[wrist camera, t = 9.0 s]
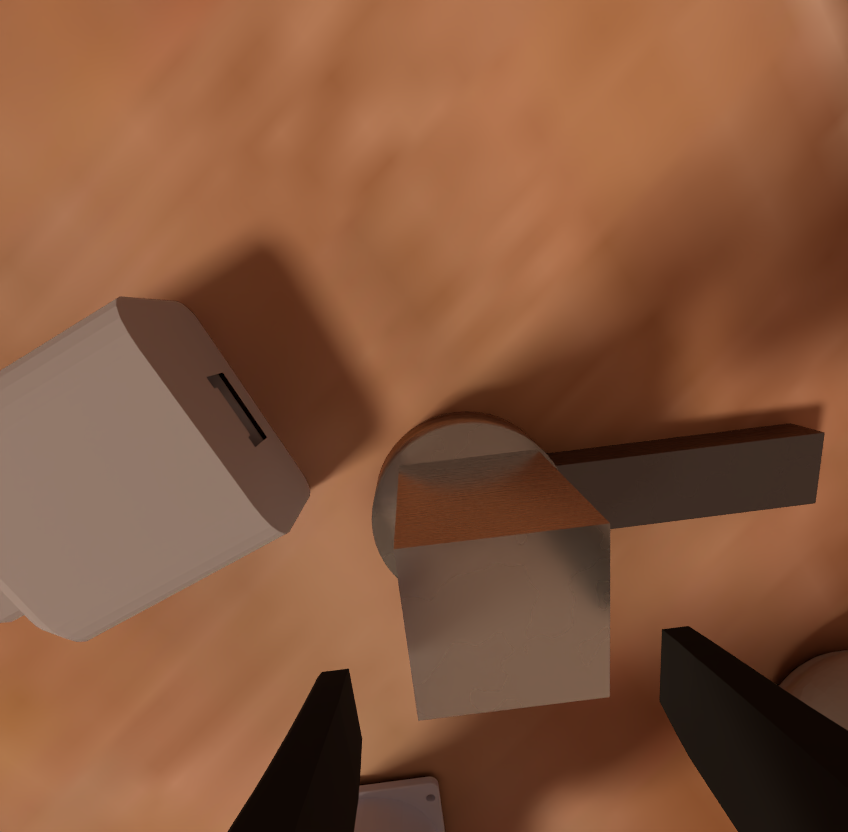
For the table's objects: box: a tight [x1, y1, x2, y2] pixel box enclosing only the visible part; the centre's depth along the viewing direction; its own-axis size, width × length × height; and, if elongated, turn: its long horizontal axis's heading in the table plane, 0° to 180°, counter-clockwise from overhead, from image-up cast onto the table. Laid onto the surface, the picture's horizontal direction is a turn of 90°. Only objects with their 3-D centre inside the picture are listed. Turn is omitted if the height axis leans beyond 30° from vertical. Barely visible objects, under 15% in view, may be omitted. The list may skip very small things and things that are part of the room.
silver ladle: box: [372, 412, 824, 578], centre depth 16 cm, size 8×19×5 cm, turn 97°
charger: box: [0, 297, 310, 642], centre depth 15 cm, size 5×9×15 cm
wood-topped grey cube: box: [394, 449, 610, 721], centre depth 13 cm, size 5×5×6 cm
